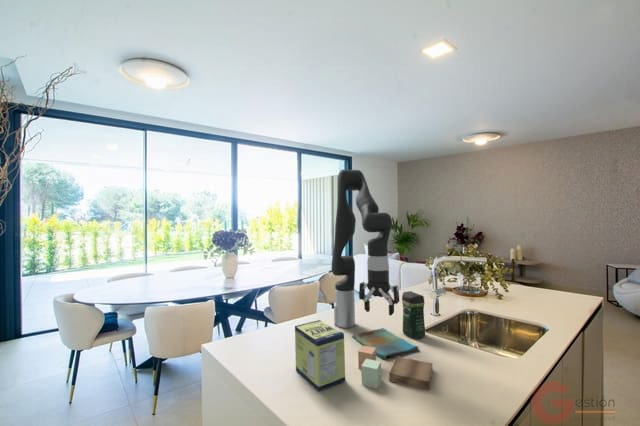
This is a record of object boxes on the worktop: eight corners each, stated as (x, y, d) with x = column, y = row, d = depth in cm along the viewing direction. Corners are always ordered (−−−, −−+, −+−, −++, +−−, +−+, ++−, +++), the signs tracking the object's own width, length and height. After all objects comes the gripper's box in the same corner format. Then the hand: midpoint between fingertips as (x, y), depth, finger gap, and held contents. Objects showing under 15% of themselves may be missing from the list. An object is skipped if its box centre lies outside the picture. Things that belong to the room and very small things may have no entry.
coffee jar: (428, 337, 127) (427, 294, 127) (413, 340, 124) (412, 296, 124) (414, 329, 136) (413, 289, 136) (399, 332, 133) (398, 291, 134)
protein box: (320, 361, 108) (319, 319, 108) (346, 381, 95) (345, 333, 95) (294, 370, 103) (293, 325, 103) (318, 392, 90) (317, 341, 90)
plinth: (389, 380, 95) (389, 373, 95) (396, 363, 106) (396, 356, 106) (429, 389, 90) (428, 381, 90) (432, 370, 101) (432, 363, 101)
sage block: (361, 384, 93) (361, 365, 93) (366, 376, 98) (365, 358, 98) (377, 388, 91) (376, 369, 91) (381, 380, 96) (380, 361, 96)
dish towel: (384, 362, 108) (384, 355, 108) (351, 338, 129) (351, 332, 129) (420, 352, 115) (420, 346, 115) (383, 331, 136) (383, 326, 136)
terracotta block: (358, 368, 103) (358, 351, 103) (362, 361, 108) (362, 345, 108) (372, 371, 101) (372, 353, 101) (376, 364, 105) (376, 347, 106)
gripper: (355, 268, 107) (356, 313, 107) (394, 271, 100) (396, 319, 100) (363, 265, 114) (364, 307, 113) (400, 267, 107) (401, 312, 106)
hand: (379, 313), depth 107 cm, fingers open, 8 cm apart
